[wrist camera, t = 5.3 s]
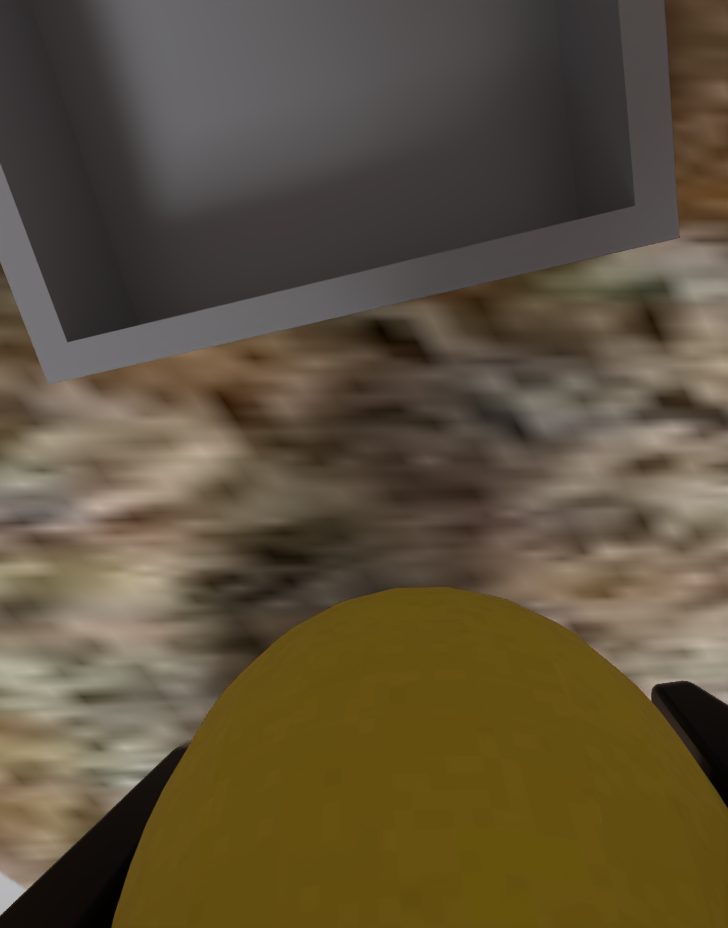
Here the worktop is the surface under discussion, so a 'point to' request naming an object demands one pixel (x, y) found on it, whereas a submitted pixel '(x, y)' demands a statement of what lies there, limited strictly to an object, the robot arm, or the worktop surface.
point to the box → (313, 159)
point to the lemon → (432, 785)
